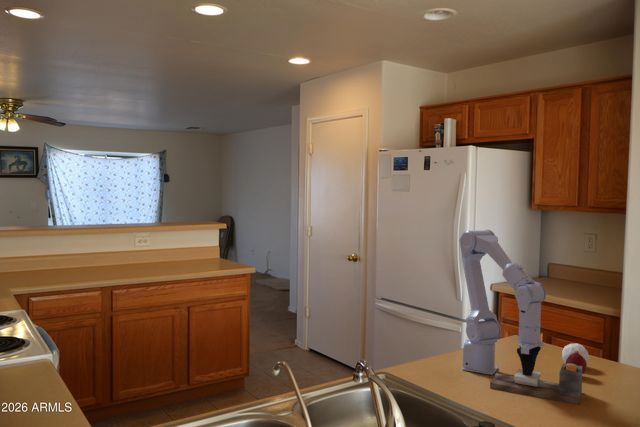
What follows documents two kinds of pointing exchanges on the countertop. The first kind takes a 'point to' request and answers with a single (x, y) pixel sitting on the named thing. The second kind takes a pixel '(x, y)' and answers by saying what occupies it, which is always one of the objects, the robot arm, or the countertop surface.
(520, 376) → the carriage
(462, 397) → the countertop surface
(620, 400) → the countertop surface
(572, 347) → the ball
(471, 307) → the robot arm
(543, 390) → the rail bed
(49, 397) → the countertop surface
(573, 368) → the brown egg
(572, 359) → the onion
